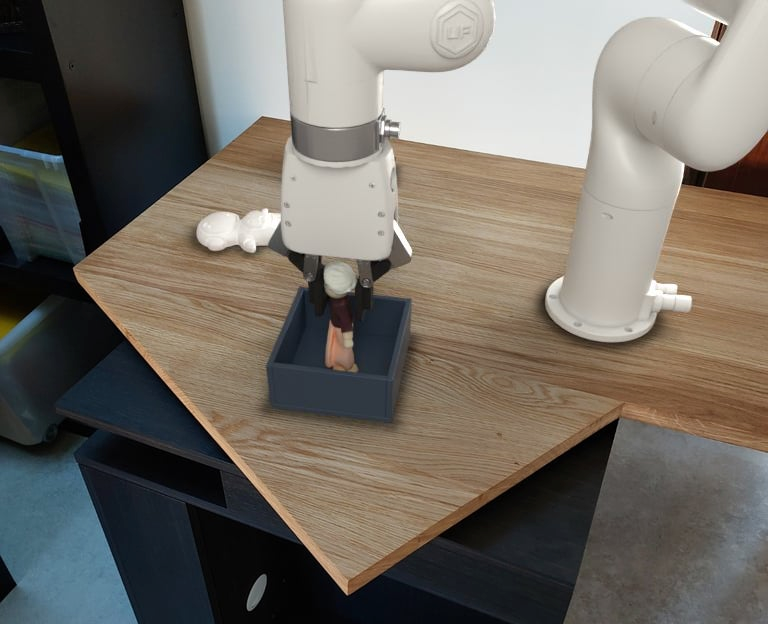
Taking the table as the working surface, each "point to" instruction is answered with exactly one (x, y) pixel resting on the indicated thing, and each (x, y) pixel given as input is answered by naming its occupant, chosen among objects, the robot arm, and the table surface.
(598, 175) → the robot arm
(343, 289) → the grandmother figurine
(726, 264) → the table surface
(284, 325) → the bin
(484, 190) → the table surface
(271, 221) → the astronaut figurine
